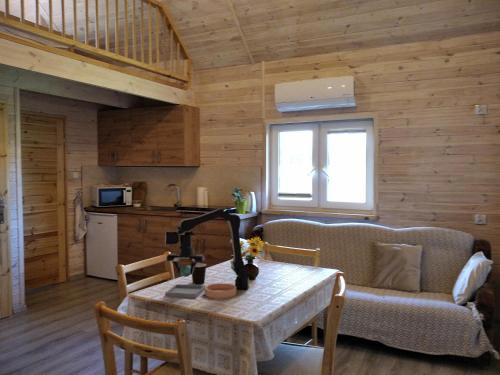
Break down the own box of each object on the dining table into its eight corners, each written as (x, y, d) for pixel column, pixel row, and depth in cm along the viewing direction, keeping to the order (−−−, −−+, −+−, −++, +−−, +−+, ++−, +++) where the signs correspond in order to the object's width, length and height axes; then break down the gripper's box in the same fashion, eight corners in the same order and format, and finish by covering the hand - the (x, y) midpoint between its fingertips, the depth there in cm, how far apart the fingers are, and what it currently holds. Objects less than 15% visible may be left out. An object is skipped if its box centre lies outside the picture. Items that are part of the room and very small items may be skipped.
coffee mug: (203, 285, 233) (203, 267, 233) (188, 284, 235) (188, 266, 235) (209, 280, 245) (209, 262, 244) (195, 279, 247) (195, 262, 246)
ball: (193, 275, 222) (193, 263, 221) (189, 278, 216) (189, 266, 215) (182, 275, 223) (182, 263, 222) (178, 277, 217) (178, 266, 216)
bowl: (238, 290, 224) (238, 283, 224) (232, 299, 208) (232, 292, 208) (209, 289, 226) (209, 282, 226) (201, 297, 211) (201, 290, 211)
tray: (205, 289, 226) (205, 285, 226) (196, 298, 210) (196, 294, 210) (176, 287, 229) (176, 284, 229) (165, 296, 213) (165, 292, 213)
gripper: (207, 241, 225) (207, 271, 225) (173, 240, 228) (173, 270, 229) (201, 245, 214) (201, 276, 215) (166, 244, 217) (166, 275, 218)
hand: (185, 274), depth 219 cm, fingers closed on ball, 6 cm apart
